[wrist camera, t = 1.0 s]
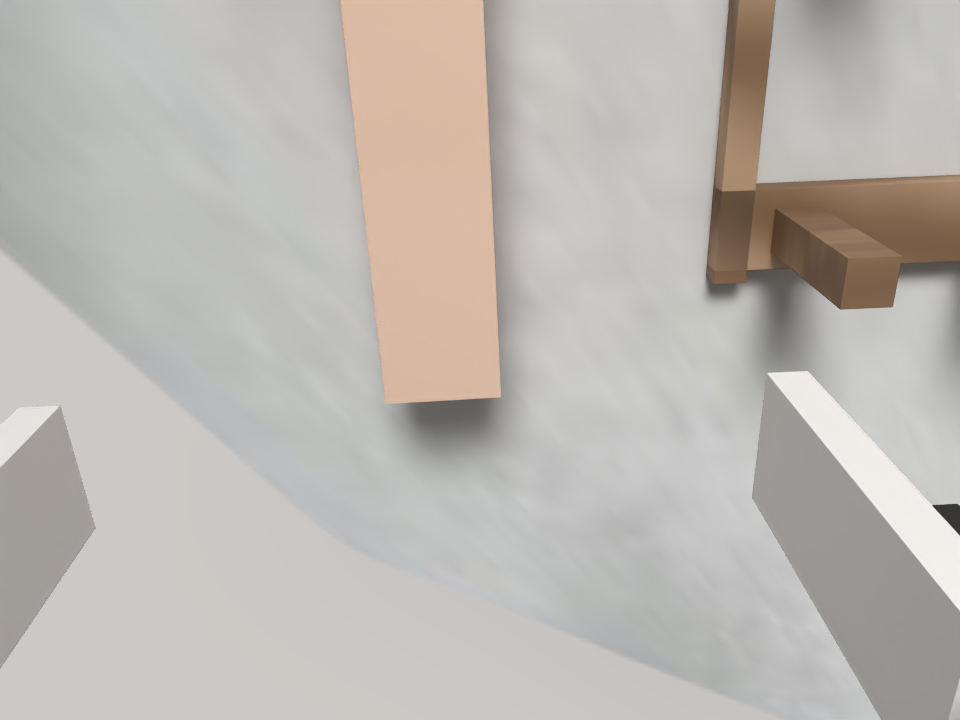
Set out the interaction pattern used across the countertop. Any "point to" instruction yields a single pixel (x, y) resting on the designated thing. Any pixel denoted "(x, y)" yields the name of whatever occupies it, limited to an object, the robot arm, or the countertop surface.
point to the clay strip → (426, 193)
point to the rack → (813, 198)
